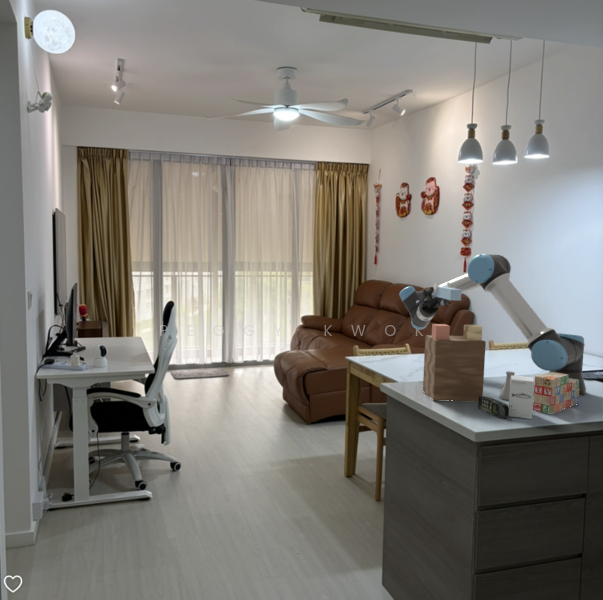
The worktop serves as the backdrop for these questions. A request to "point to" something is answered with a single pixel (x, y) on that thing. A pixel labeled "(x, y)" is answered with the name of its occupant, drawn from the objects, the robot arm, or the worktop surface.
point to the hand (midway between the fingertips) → (442, 285)
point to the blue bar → (448, 293)
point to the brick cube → (440, 331)
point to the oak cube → (472, 332)
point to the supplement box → (521, 396)
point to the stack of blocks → (555, 392)
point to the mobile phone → (493, 407)
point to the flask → (506, 386)
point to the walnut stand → (454, 368)
